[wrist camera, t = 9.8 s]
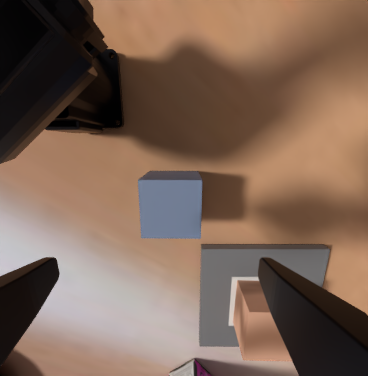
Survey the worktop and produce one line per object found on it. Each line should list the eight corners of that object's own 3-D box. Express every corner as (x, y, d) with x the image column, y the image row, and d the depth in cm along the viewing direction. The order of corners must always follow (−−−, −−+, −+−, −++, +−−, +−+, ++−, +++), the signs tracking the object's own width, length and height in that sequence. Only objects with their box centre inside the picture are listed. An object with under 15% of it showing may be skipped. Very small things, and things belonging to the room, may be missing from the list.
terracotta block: (237, 280, 20) (249, 312, 17) (289, 281, 20) (314, 313, 17) (232, 321, 22) (243, 360, 18) (282, 322, 22) (302, 361, 18)
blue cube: (150, 170, 19) (137, 179, 14) (197, 170, 19) (202, 180, 14) (152, 215, 20) (141, 238, 15) (197, 215, 20) (200, 238, 15)
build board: (201, 244, 21) (202, 249, 20) (323, 244, 21) (330, 249, 20) (199, 338, 24) (199, 347, 23) (304, 338, 24) (309, 347, 23)
